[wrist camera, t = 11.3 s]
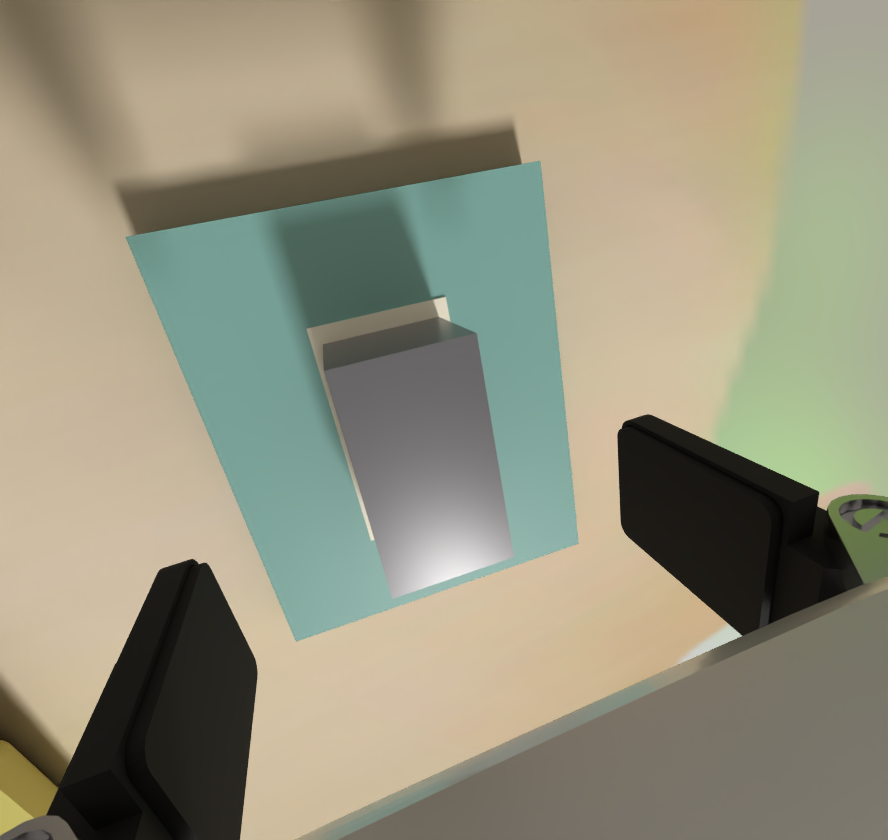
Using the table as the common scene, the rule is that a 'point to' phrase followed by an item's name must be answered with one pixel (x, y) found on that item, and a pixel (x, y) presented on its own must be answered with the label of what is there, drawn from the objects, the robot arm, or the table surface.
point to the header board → (349, 315)
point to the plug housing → (421, 449)
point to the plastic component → (21, 789)
